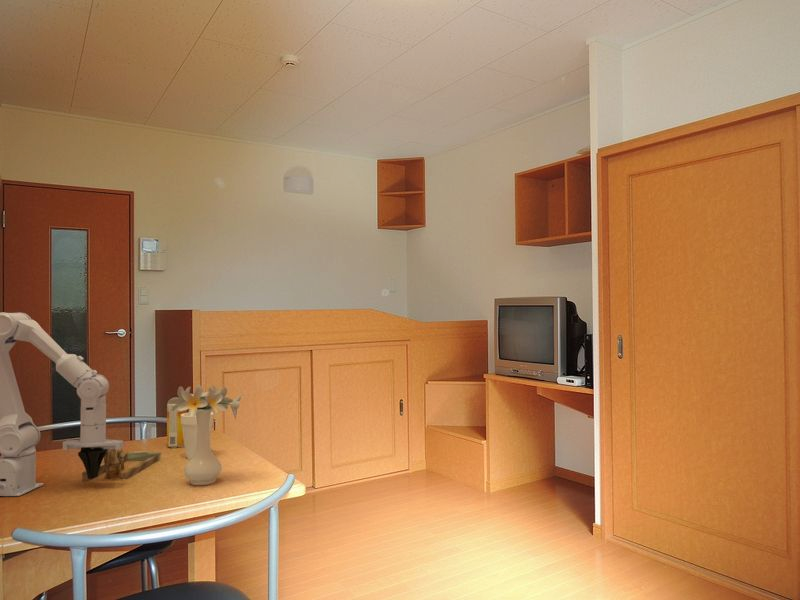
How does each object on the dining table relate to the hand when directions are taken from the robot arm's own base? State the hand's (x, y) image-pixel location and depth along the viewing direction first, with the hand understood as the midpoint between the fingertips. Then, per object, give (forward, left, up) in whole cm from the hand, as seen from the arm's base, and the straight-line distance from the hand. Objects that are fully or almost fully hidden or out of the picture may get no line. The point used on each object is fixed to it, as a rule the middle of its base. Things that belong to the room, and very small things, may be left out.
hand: (92, 477), depth 148 cm
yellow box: (+45, -3, -2) cm, 45 cm away
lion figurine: (+12, 0, -2) cm, 12 cm away
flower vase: (+5, -27, -2) cm, 28 cm away
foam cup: (+31, -15, -2) cm, 34 cm away
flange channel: (+16, 0, -2) cm, 16 cm away
